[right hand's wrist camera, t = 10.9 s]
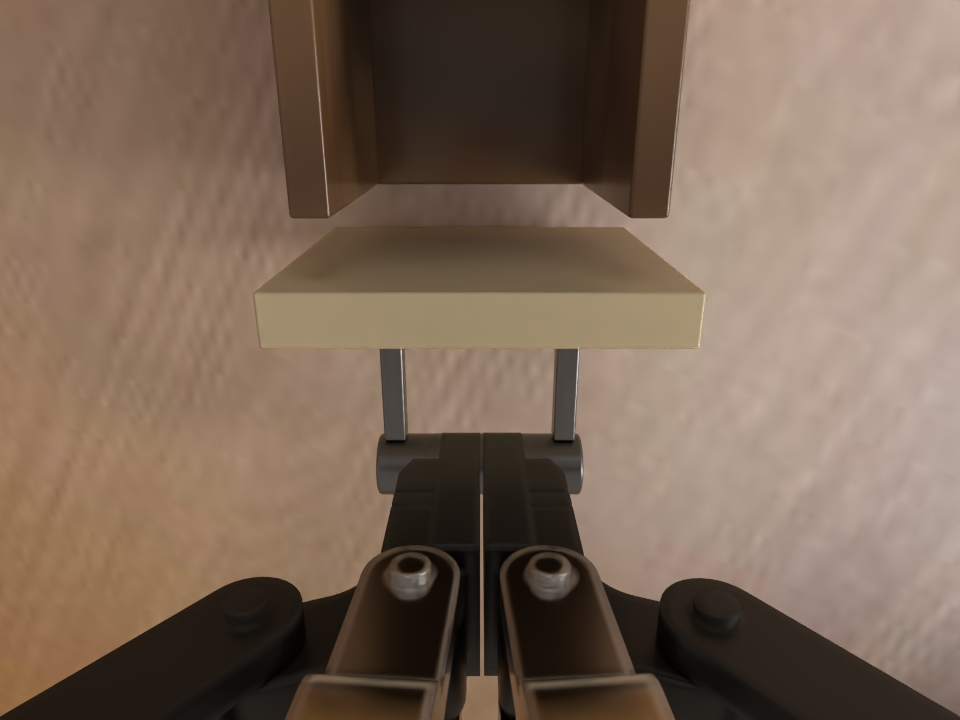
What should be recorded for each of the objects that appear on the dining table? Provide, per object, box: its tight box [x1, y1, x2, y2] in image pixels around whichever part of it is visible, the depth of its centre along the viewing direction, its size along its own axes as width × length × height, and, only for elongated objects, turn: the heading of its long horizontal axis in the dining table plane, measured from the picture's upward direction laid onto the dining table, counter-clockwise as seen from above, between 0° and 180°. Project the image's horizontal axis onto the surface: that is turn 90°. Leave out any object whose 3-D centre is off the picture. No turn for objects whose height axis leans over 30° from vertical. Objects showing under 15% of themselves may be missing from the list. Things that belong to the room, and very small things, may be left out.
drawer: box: [253, 0, 706, 494], centre depth 15 cm, size 23×9×8 cm, turn 0°
